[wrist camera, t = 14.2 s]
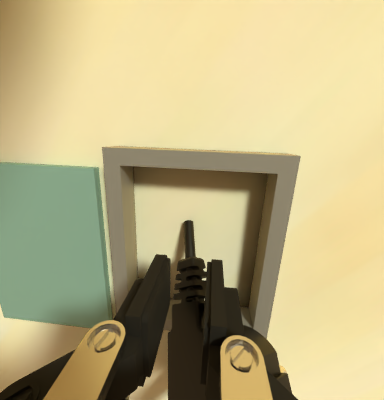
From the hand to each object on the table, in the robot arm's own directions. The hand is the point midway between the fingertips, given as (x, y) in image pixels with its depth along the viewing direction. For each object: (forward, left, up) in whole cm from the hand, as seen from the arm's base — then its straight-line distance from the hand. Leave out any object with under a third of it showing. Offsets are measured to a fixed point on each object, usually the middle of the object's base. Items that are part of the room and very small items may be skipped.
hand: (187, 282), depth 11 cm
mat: (+2, -12, -5) cm, 13 cm away
